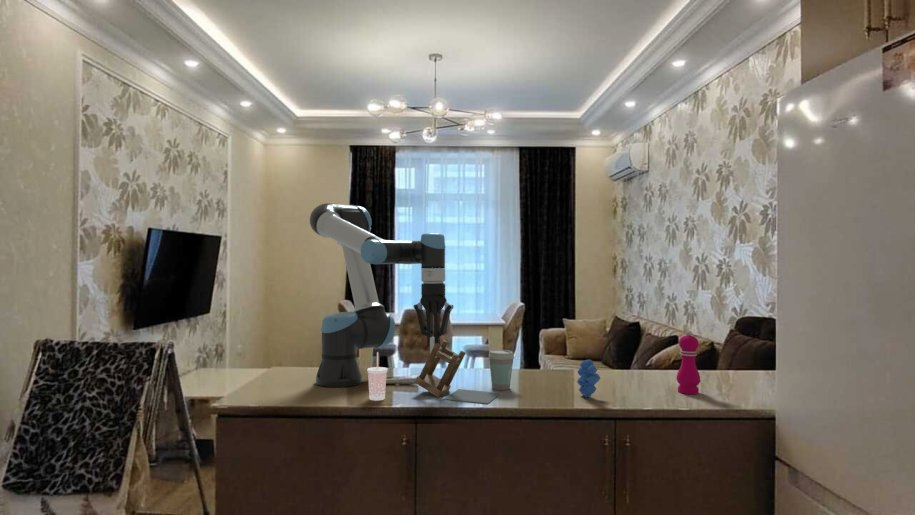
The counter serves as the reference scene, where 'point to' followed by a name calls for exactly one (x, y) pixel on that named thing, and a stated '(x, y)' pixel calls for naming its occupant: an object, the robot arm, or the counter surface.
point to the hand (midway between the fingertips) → (433, 357)
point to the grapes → (587, 378)
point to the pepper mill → (688, 365)
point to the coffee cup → (501, 368)
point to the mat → (472, 396)
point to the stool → (426, 376)
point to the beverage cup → (377, 382)
